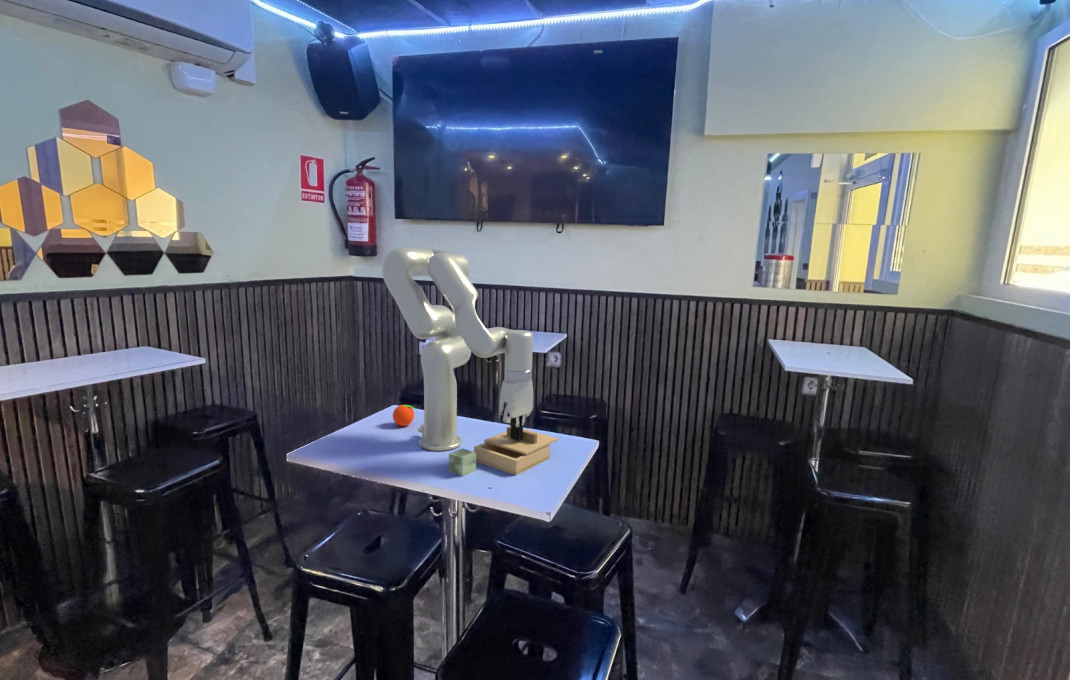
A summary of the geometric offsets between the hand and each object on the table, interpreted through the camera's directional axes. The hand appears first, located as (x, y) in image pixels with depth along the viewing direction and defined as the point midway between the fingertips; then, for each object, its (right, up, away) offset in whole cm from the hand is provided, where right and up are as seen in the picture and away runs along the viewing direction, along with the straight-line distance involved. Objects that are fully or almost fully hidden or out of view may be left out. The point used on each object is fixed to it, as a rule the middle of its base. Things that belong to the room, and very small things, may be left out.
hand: (516, 438), depth 146 cm
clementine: (-38, -1, +26) cm, 45 cm away
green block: (-14, -7, -9) cm, 18 cm away
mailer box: (-1, -6, 0) cm, 6 cm away
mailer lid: (+1, -1, +2) cm, 3 cm away
